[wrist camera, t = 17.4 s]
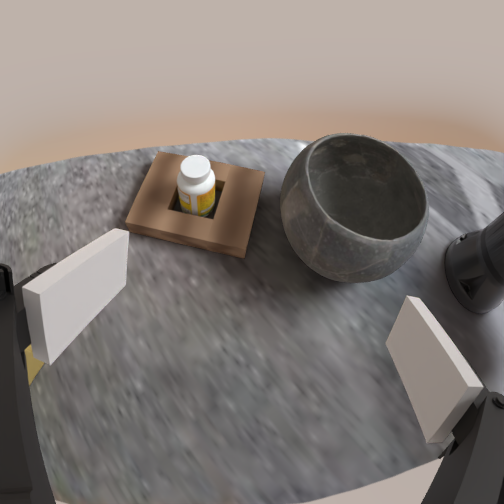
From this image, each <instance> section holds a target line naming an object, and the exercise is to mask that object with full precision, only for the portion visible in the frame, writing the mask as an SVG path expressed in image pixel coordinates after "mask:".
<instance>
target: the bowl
mask: <svg viewBox="0 0 504 504" xmlns="http://www.w3.org/2000/svg"><path fill="white" fill-rule="evenodd" d="M280 210H281V218H282V223H283V227H284V231H285V233H286V236H287V238H288V241H289V243H290V244H291V246H292V248H293V250H294V251H295V252H296V254H297V255H298V256H299V258H300V259H301V260H302V261H303V262H304V263H305V264H306V265H307V266H308V267H310V268H311V269H312V270H314V271H315V272H317V273H318V274H320V275H322V276H324V277H326V278H329V279H332V280H335V281H340V282H349V283H361V282H370V281H374V280H378V279H381V278H383V277H386V276H388V275H390V274H392V273H393V272H394V271H396V270H397V269H398V268H400V267H401V266H402V265H403V264H404V263H405V262H406V261H407V260H408V259H409V258H410V257H411V256H412V255H413V254H414V252H415V251H416V249H417V247H418V246H419V244H420V242H421V240H422V238H423V235H424V233H425V230H426V226H427V222H428V216H429V203H428V196H427V192H426V188H425V186H424V184H423V182H422V180H421V178H420V176H419V174H418V173H417V171H416V170H415V168H414V167H413V166H412V164H411V163H410V162H409V161H408V160H407V159H406V158H405V157H404V156H403V155H402V154H401V153H399V152H398V151H397V150H396V149H394V148H393V147H391V146H390V145H388V144H386V143H385V142H383V141H381V140H378V139H376V138H373V137H369V136H365V135H358V134H351V133H339V134H332V135H328V136H325V137H322V138H320V139H318V140H316V141H314V142H313V143H311V144H310V145H308V146H307V147H306V148H304V149H303V150H302V151H301V153H300V154H299V155H298V156H297V157H296V158H295V159H294V161H293V162H292V164H291V166H290V168H289V169H288V171H287V174H286V176H285V178H284V182H283V185H282V189H281V196H280Z"/></svg>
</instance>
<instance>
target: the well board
mask: <svg viewBox="0 0 504 504" xmlns="http://www.w3.org/2000/svg"><path fill="white" fill-rule="evenodd" d="M187 157H188V156H183V155H177V154H171V153H165V152H159V151H158V153H157V155H156V157H155V159H154V161H153V163H152V165H151V167H150V169H149V171H148V173H147V175H146V177H145V179H144V181H143V183H142V186H141V188H140V190H139V192H138V194H137V196H136V198H135V201H134V203H133V205H132V207H131V210H130V212H129V214H128V216H127V219H126V221H125V223H126V225H127V227H128V229H129V231H130V232H133V233H137V234H141V235H145V236H150V237H154V238H158V239H162V240H166V241H171V242H175V243H179V244H183V245H188V246H192V247H196V248H200V249H205V250H209V251H213V252H218V253H222V254H226V255H230V256H235V257H239V258H243V259H244V258H245V254H246V250H247V246H248V242H249V237H250V233H251V229H252V225H253V221H254V217H255V213H256V209H257V205H258V201H259V197H260V193H261V188H262V184H263V180H264V175H265V172H262V171H258V170H253V169H249V168H244V167H239V166H235V165H230V164H225V163H220V162H215V161H210V160H209V162H210V168H211V169H212V171H213V172H214V175H215V206H214V209H213V211H212V212H211V213H210V214H209V215H207V216H205V217H200V216H196V215H191V214H186V213H183V211H182V209H181V205H180V199H179V198H178V197H179V193H178V186H177V176H178V174H179V172H180V171H181V170H180V166H181V163H182V161H183V160H184V159H185V158H187Z"/></svg>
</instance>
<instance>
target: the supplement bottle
mask: <svg viewBox="0 0 504 504" xmlns="http://www.w3.org/2000/svg"><path fill="white" fill-rule="evenodd" d="M180 170H181V171H180V172H179V174H178V176H177V186H178V193H179V199H180V205H181V209H182V211H183V213H186V214H191V215H196V216H200V217H205V216H207V215H209V214H210V213H211V212H212V211H213V209H214V206H215V175H214V172H213V171H212V169H211V168H210V162H209V160H208V159H207V158H205V157H204V156H201V155H192V156H189V157H187V158H185V159H184V160H183V161H182V163H181V166H180Z"/></svg>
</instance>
